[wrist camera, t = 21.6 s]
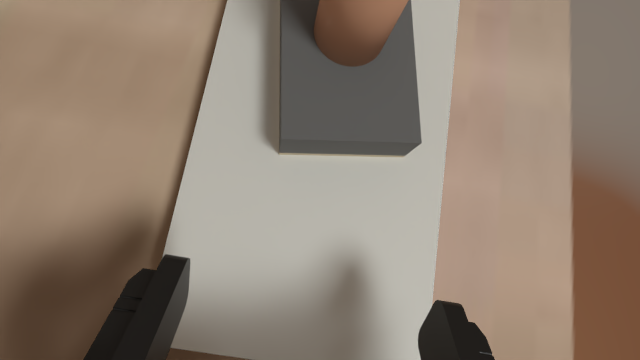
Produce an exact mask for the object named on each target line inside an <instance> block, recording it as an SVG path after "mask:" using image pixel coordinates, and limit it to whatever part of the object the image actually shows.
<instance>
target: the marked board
mask: <svg viewBox="0 0 640 360" xmlns="http://www.w3.org/2000/svg"><path fill="white" fill-rule="evenodd" d="M459 4H460V0H411V6H412V20H413V33H414V47H415V60H416V73H417V87H418V100H419V114H420V127H421V140H422V143H421V144H420V145H419V146H417V147H416V148H415V149H413V150H412V151H411V152H410V153H408V154H407V155H406V156H404V157H362V156H318V155H279V51H280V0H227V4H226V8H225V12H224V16H223V20H222V23H221V27H220V31H219V35H218V39H217V43H216V47H215V51H214V55H213V59H212V63H211V67H210V71H209V75H208V79H207V83H206V87H205V91H204V95H203V99H202V103H201V106H200V110H199V114H198V118H197V122H196V126H195V130H194V134H193V138H192V142H191V146H190V150H189V154H188V158H187V162H186V166H185V170H184V174H183V178H182V182H181V186H180V190H179V193H178V197H177V201H176V205H175V209H174V213H173V217H172V221H171V225H170V229H169V233H168V237H167V241H166V245H165V249H164V253H163V256H164V255H165V254H168V255H174V256H180V257H186V258H190V277H189V292H188V298H187V303H186V306H185V310H184V312H183V315H182V318H181V320H180V323H179V326H178V328H177V331H176V334H175V336H174V339H173V342H172V344H171V347H170V348H175V349H182V350H189V351H196V352H203V353H210V354H217V355H224V356H231V357H238V358H245V359H252V360H421V358H420V353H419V349H418V334H419V330H420V328H421V326H422V324H423V322H424V320H425V319H426V317H427V315H428V313H429V311H430V309H431V308H432V299H433V288H434V277H435V266H436V255H437V244H438V233H439V223H440V212H441V201H442V190H443V179H444V168H445V157H446V146H447V135H448V124H449V113H450V102H451V91H452V81H453V70H454V59H455V48H456V37H457V26H458V15H459ZM162 258H163V257H162Z"/></svg>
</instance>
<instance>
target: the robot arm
mask: <svg viewBox="0 0 640 360" xmlns="http://www.w3.org/2000/svg"><path fill="white" fill-rule="evenodd" d="M189 277H190V258H186V257H180V256H174V255H168V254H165V255H164V256H163V258H162V260H161V262H160V264H159V266H158V268H157V270H150V269H144V268H143V269H142V270H141V271H139V272H138V273H137V274H136V275H134V276H133V277H132V278H131V279H130V280H129V281H128V282H127V284H126V286H125V288H124V289H123V291H122V293H121V295H120V298H118V300H117V302H116V304H115V305H114V307H113V310H112V311H111V312H110V314H109V316H108V318H107V319H106V321H105V323H104V325H103V326H102V328H101V330H100V332H99V333H98V335H97V337H96V339H95V341H94V342H93V344H92V346H91V348H90V349H89V351H88V353H87V355H86V356H85V358H84V359H83V360H166V358H167V355H168V352H169V350H170V347H171V344H172V342H173V339H174V336H175V334H176V331H177V328H178V326H179V323H180V320H181V318H182V315H183V312H184V310H185V306H186V303H187V298H188V292H189ZM418 349H419V353H420V358H421V360H495V359H494V357H493V356H492V352H491V349H490V346H489V344H488V341H487V339H486V337H485V336H484V334H483V333H482V332H481V330H480V329H479V328H478V327H477V325H476V324H475V323H473V322H468V319H467V317H466V314H465V311H464V309H463V307H462V305H461V304H458V303H452V302H446V301H440V300H437V301H435V302H434V304H433V306H432V308H431V309H430V311H429V313H428V315H427V317H426V319H425V320H424V322H423V324H422V326H421V328H420V330H419V334H418Z"/></svg>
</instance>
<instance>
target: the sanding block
mask: <svg viewBox="0 0 640 360" xmlns="http://www.w3.org/2000/svg"><path fill="white" fill-rule="evenodd" d="M421 143H422V140H421V127H420V114H419V100H418V87H417V73H416V60H415V47H414V33H413V20H412V6H411V0H280V51H279V155H318V156H362V157H404V156H406V155H407V154H408V153H410V152H411V151H412V150H413V149H415V148H416V147H417V146H419V145H420V144H421Z"/></svg>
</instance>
